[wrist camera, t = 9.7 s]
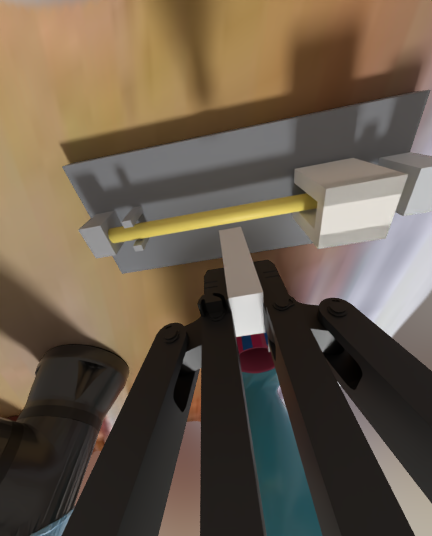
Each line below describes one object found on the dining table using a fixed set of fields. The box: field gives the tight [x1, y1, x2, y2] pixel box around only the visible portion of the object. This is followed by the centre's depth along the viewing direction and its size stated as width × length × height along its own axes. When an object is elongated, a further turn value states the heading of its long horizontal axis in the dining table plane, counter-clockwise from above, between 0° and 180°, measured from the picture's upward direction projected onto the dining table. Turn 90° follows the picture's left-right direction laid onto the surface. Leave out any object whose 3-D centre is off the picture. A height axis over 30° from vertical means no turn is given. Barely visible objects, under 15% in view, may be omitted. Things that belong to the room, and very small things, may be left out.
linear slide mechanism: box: [63, 90, 432, 274], centre depth 19 cm, size 30×12×6 cm, turn 100°
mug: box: [236, 329, 275, 373], centre depth 30 cm, size 7×10×7 cm
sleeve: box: [292, 158, 408, 249], centre depth 17 cm, size 5×5×6 cm
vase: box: [242, 368, 323, 536], centre depth 31 cm, size 17×17×30 cm
